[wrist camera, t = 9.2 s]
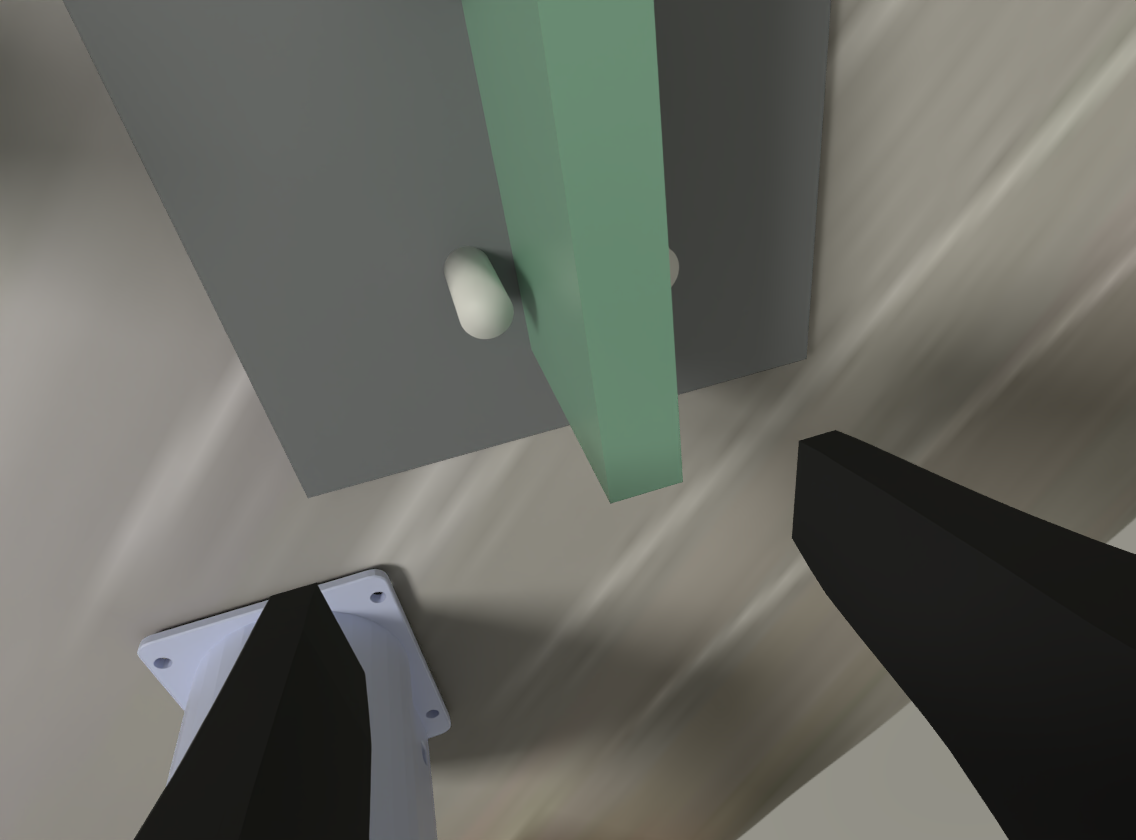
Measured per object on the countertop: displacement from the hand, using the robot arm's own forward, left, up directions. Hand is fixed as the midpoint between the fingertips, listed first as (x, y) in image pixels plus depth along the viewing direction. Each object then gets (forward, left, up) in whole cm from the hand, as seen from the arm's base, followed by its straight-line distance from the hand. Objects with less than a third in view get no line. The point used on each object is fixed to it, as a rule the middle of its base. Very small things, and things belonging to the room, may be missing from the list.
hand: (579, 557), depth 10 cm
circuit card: (+5, -2, -9) cm, 11 cm away
